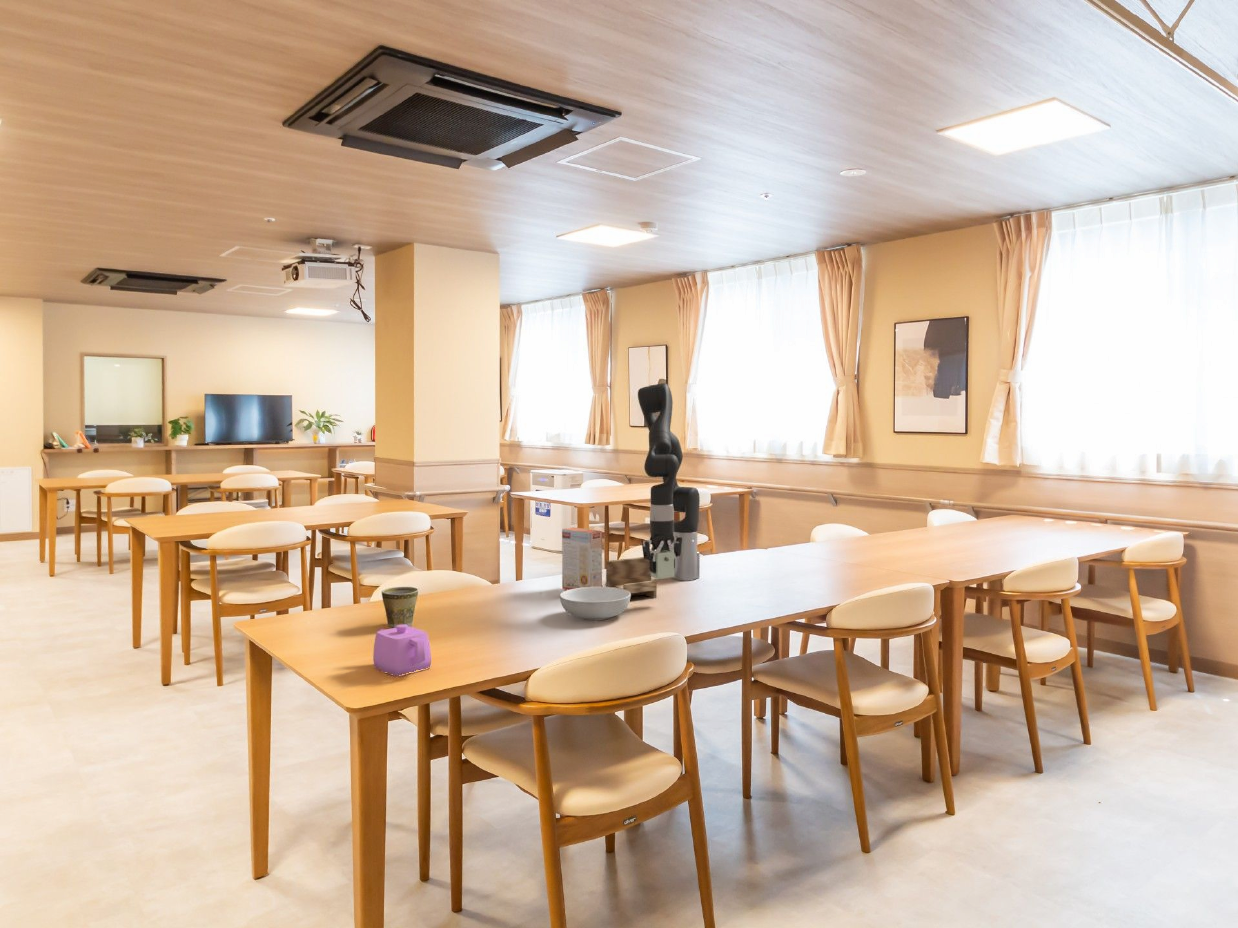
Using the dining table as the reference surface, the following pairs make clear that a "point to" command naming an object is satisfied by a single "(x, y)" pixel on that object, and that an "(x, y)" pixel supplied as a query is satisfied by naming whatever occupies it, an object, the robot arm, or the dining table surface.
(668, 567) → the cabinet block
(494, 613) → the dining table surface
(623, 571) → the wooden stand
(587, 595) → the serving bowl
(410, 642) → the teapot
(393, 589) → the ceramic cup
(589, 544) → the cracker box
